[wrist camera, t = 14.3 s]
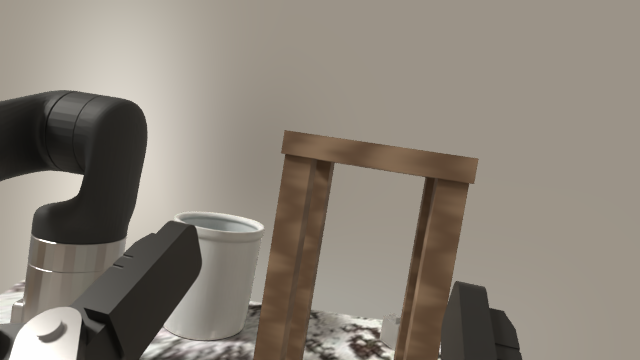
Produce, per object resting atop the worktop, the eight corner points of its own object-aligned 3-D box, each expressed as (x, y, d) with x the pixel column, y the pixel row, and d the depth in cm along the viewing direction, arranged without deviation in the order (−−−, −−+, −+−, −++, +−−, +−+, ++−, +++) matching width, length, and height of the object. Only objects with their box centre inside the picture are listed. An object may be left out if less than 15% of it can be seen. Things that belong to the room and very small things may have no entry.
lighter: (379, 339, 67) (386, 296, 67) (386, 338, 68) (393, 295, 67) (406, 360, 61) (414, 313, 60) (414, 358, 62) (422, 312, 61)
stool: (230, 480, 34) (284, 130, 32) (275, 396, 46) (315, 142, 45) (408, 542, 31) (478, 158, 29) (404, 434, 43) (452, 163, 42)
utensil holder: (257, 311, 70) (271, 220, 70) (237, 350, 55) (255, 236, 55) (181, 298, 71) (194, 208, 70) (141, 334, 56) (157, 219, 55)
